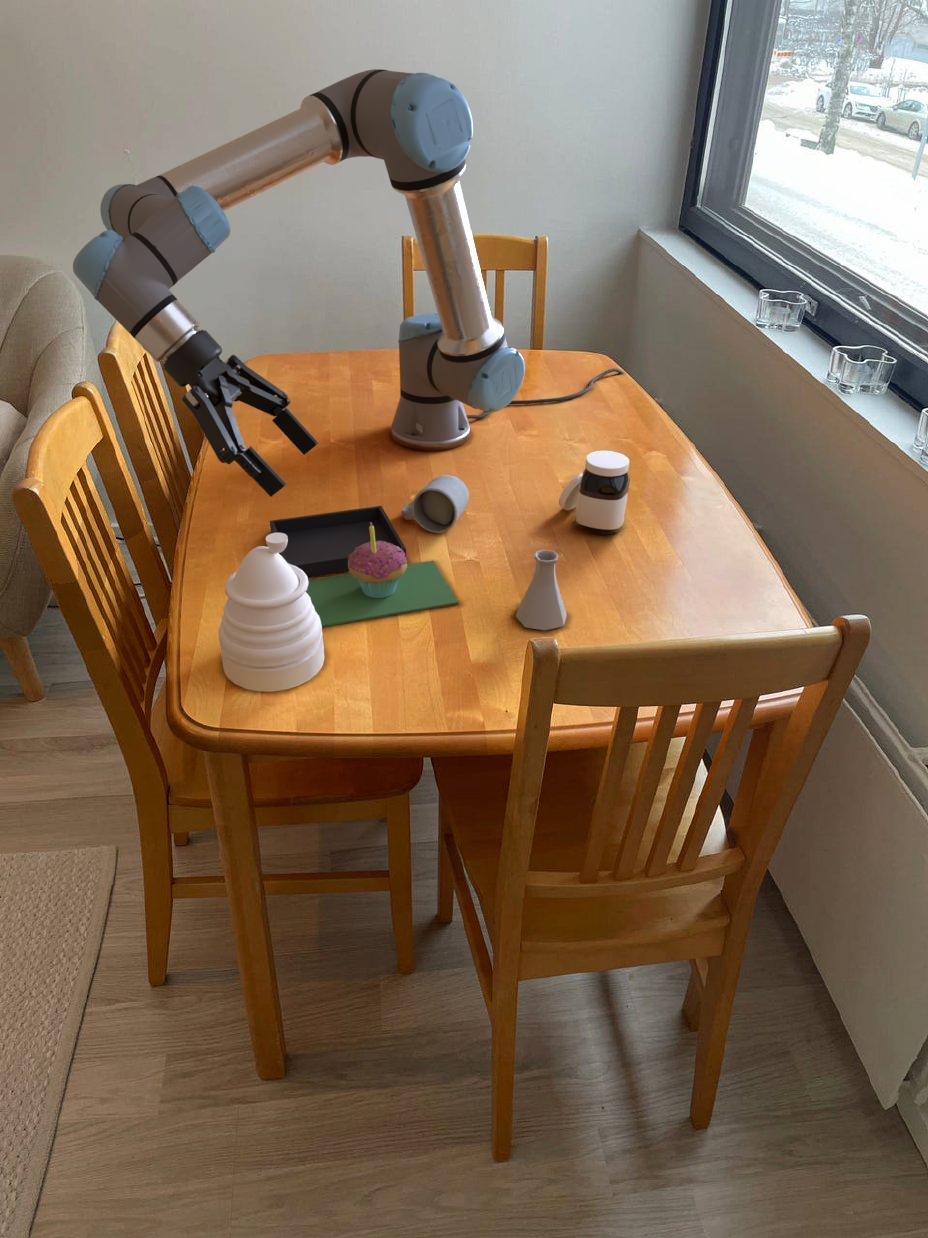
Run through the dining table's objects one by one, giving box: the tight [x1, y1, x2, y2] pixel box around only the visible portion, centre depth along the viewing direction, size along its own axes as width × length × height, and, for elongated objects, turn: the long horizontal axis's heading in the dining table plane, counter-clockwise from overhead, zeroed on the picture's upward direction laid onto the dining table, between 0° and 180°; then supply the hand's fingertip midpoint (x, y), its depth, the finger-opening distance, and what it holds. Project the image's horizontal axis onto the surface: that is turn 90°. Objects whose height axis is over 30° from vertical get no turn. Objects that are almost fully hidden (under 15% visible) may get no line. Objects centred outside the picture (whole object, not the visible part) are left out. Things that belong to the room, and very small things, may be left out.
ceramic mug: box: [401, 474, 470, 534], centre depth 148 cm, size 11×8×8 cm
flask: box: [515, 549, 568, 631], centre depth 125 cm, size 7×7×10 cm
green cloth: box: [306, 560, 459, 628], centre depth 131 cm, size 20×12×1 cm, turn 109°
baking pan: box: [269, 505, 407, 579], centre depth 141 cm, size 18×15×2 cm
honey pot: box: [218, 533, 325, 693], centre depth 113 cm, size 13×13×18 cm
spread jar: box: [558, 450, 631, 536], centre depth 148 cm, size 12×11×12 cm
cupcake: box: [348, 522, 409, 598], centre depth 128 cm, size 9×8×12 cm
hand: (295, 469), depth 125 cm, fingers open, 13 cm apart
